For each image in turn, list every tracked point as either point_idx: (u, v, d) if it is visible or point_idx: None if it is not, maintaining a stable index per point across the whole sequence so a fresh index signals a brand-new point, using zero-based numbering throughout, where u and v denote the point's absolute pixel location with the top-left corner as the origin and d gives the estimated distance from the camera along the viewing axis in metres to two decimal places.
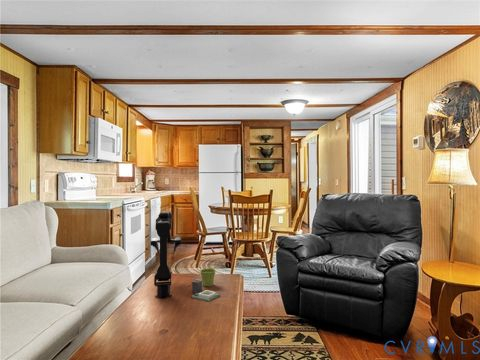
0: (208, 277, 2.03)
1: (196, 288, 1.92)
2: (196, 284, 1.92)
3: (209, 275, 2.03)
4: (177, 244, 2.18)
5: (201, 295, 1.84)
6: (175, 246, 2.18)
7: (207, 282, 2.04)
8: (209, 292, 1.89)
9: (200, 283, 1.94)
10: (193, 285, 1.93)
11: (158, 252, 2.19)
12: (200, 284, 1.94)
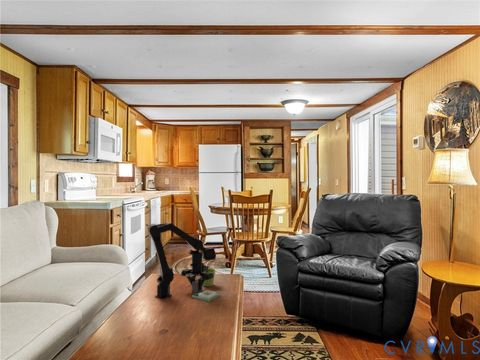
0: None
1: (196, 288, 1.92)
2: (196, 284, 1.92)
3: None
4: (203, 279, 1.89)
5: (201, 295, 1.84)
6: (198, 280, 1.91)
7: (207, 282, 2.04)
8: (209, 292, 1.89)
9: None
10: (193, 285, 1.93)
11: None
12: None
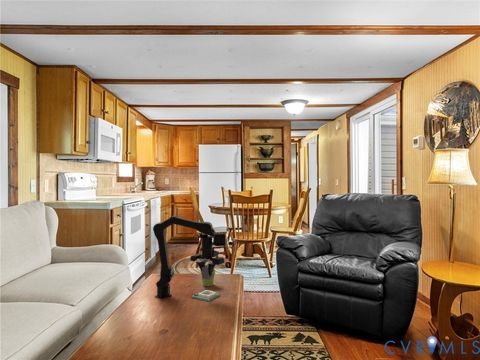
0: None
1: (206, 273, 1.84)
2: (206, 269, 1.84)
3: None
4: (214, 264, 1.80)
5: (201, 295, 1.84)
6: (209, 265, 1.82)
7: (207, 282, 2.04)
8: (209, 292, 1.89)
9: None
10: (203, 271, 1.85)
11: None
12: None
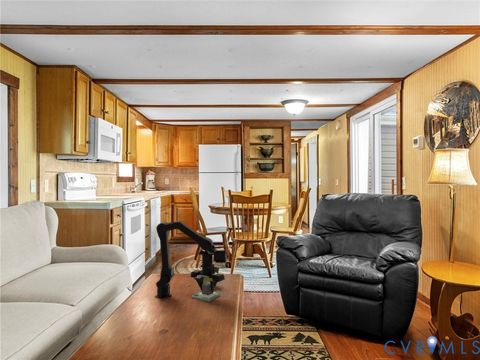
0: None
1: (206, 291, 1.84)
2: (206, 287, 1.84)
3: None
4: (214, 281, 1.80)
5: (201, 295, 1.84)
6: (211, 283, 1.82)
7: None
8: None
9: (210, 286, 1.86)
10: (203, 288, 1.85)
11: (200, 288, 1.87)
12: (210, 287, 1.86)
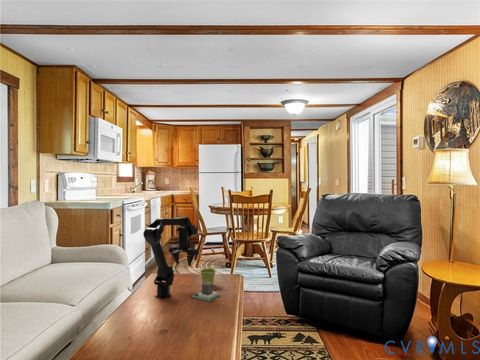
0: (208, 277, 2.03)
1: (206, 291, 1.84)
2: (206, 287, 1.84)
3: (209, 275, 2.03)
4: (188, 255, 1.95)
5: (201, 295, 1.84)
6: (187, 257, 1.96)
7: None
8: None
9: (210, 286, 1.86)
10: (203, 288, 1.85)
11: (176, 262, 2.04)
12: (210, 287, 1.86)
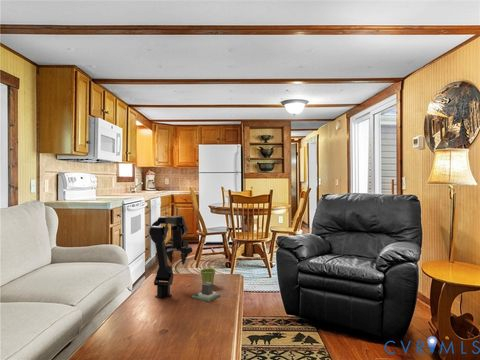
0: (208, 277, 2.03)
1: (206, 291, 1.84)
2: (206, 287, 1.84)
3: (209, 275, 2.03)
4: (183, 253, 2.00)
5: (201, 295, 1.84)
6: (181, 255, 2.01)
7: None
8: None
9: (210, 286, 1.86)
10: (203, 288, 1.85)
11: (169, 260, 2.07)
12: (210, 287, 1.86)
